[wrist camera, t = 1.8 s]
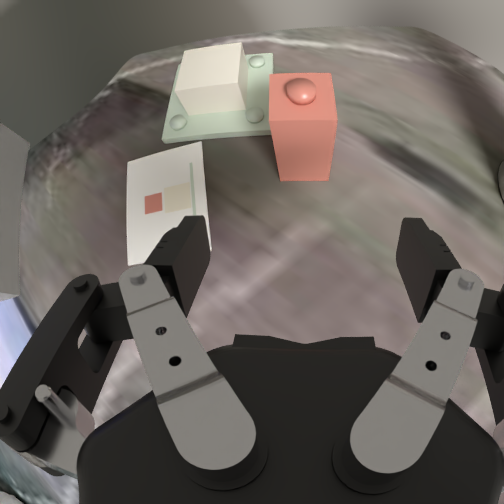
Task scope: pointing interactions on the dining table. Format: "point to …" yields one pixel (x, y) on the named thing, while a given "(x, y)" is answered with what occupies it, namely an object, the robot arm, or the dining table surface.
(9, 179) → the house
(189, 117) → the tower base
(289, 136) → the tall brick
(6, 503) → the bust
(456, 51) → the dining table surface
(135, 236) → the page
